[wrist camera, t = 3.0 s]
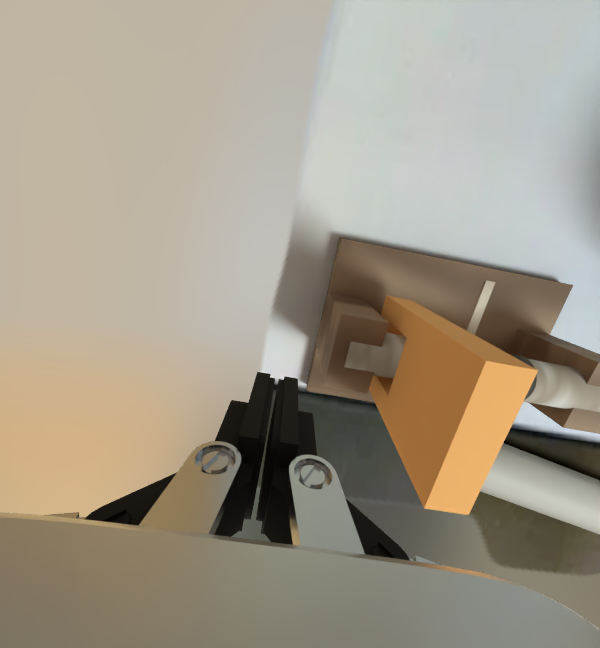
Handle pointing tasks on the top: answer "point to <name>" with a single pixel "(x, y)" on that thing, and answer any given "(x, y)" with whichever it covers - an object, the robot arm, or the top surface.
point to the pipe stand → (462, 310)
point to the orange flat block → (447, 404)
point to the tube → (545, 488)
